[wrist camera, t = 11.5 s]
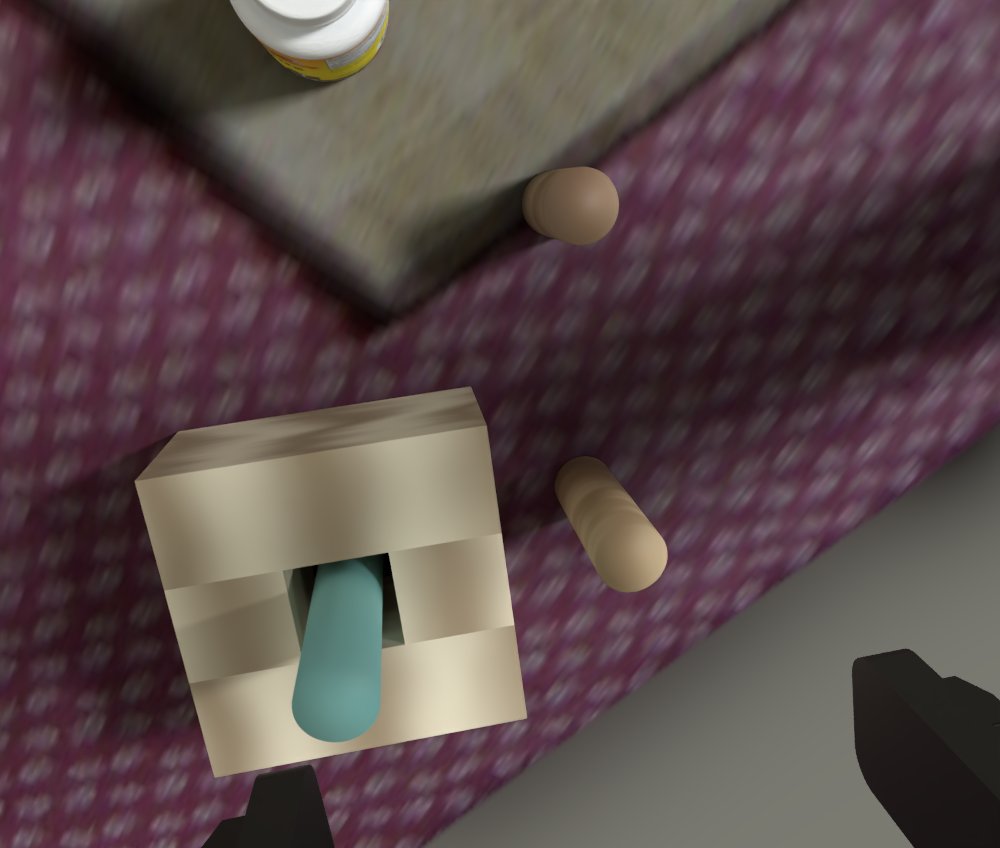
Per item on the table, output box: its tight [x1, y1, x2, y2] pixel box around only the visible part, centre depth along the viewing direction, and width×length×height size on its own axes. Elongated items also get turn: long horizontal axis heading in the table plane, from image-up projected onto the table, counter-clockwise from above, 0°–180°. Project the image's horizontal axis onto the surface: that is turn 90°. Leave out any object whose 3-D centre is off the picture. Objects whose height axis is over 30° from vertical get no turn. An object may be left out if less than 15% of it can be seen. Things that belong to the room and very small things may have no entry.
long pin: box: [292, 553, 384, 742], centre depth 35 cm, size 3×3×14 cm
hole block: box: [135, 386, 527, 777], centre depth 39 cm, size 14×14×7 cm
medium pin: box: [554, 456, 667, 592], centre depth 38 cm, size 3×3×9 cm
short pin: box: [522, 167, 619, 245], centre depth 36 cm, size 3×3×6 cm
